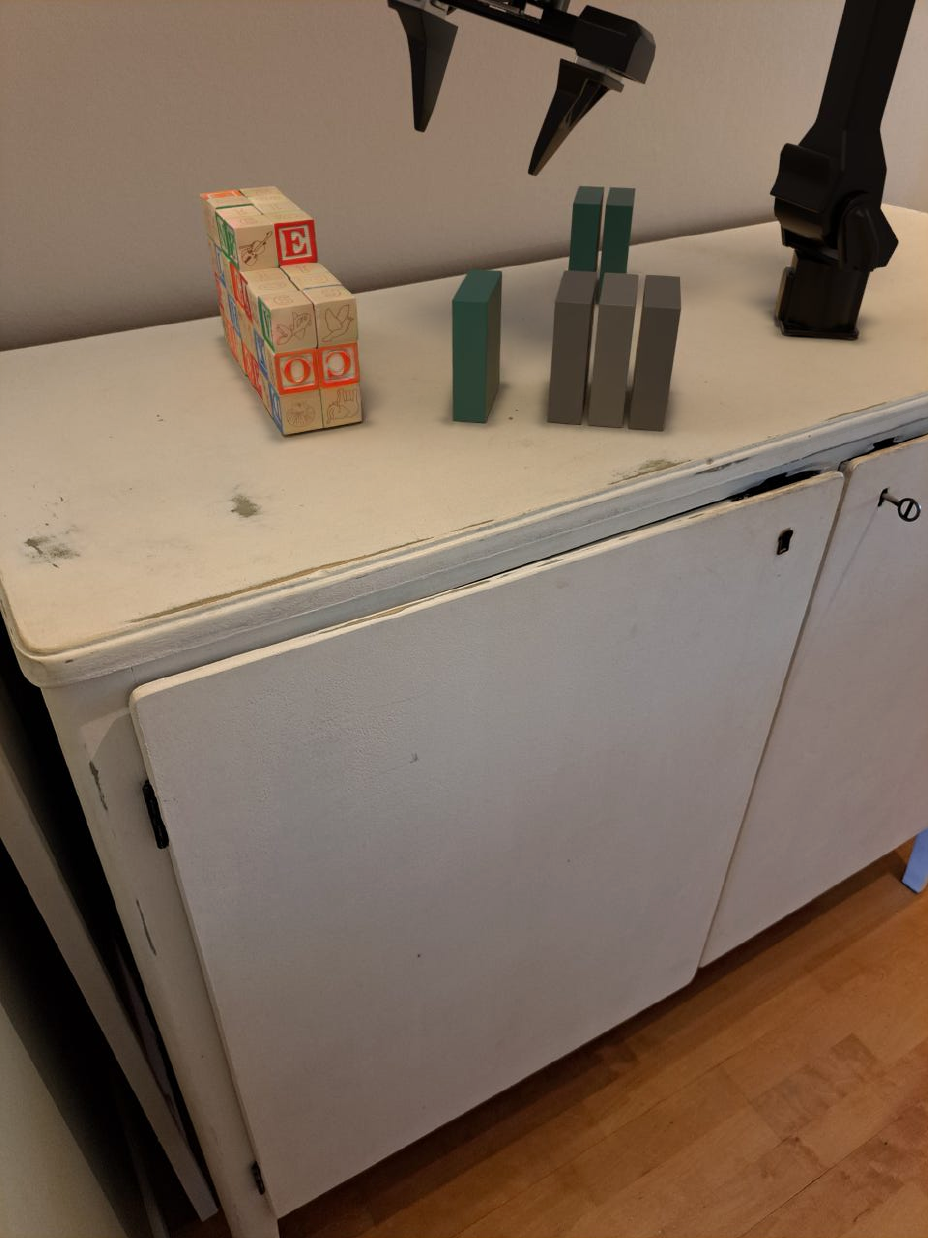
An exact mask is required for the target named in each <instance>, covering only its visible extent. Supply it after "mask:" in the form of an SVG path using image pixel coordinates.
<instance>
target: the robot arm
mask: <svg viewBox="0 0 928 1238" xmlns="http://www.w3.org/2000/svg"><path fill="white" fill-rule="evenodd" d="M571 2H572V1H571V0H386V4H387V7H388V8H389V9H391V10H394V11H396V13H397V15H398V17H399V20H400V22H401V24H402V27H403V31H404V32H405V36H406V42H407V48H408V53H409V54H408V55H409V62H410V77H411V78H410V79H411V98H412V116H413V118H412V119H413V129H414V130H415V131H416V132H419V133H425V132H426V131H427V129H428V126H429V123H430V121H431V119H432V117H433V113H434V111H435V108H436V105H437V101H438V97H439V94H440V92H441V91H440V90H441V87H442V84H443V81H444V79H445V78H444V77H445V73H446V70H447V68H448V64H449V61H450V57H451V54H452V50H453V47H454V44H455V40H456V38H457V34H458V31H459V25H456V24H454V23H452V22H450V21H448V20H446V16H447V17H448V16H449V15H451V14H452V13H453V12H455V11H457V10H460V11H463V12H466V13H469V14H470V15H471V14H472V15H475V16H477V17H480V18H483V19H486V20H489V21H491V22H495V23H497V24H500V25H503V26H506V27H509V28H512V29H514V30H517V31H521V32H523V33H526V34H529V35H532V36H533V37H537V38H541V39H543V40H546V41H549V42H551V43H555V44H558V45H561V46H563V47H567V48H569V49H572V50H575V54H574V55H575V58H574V61H570V60H567V59H565V58H562V57H560V58H559V63H558V71H557V80H556V85H555V86H556V87H555V90H554V94H553V96H552V99H551V101H550V104H549V106H548V109H547V112H546V115H545V117H544V119H543V123H542V125H541V128H540V131H539V133H538V136H537V138H536V141H535V144H534V146H533V149H532V153H531V157H530V161H529V163H528V169H527V175H529V176H533V177H537V176H538V175H539V174H540V172H542V170H543V169H544V167H545V166H546V165H547V163H549V161H550V159H552V158H553V156H554V155H555V153H556V152H557V151H558V150H559V148H560V147H561V145H562V144H563V143H564V141H565V140H566V139H567V138H568V136H569V135H570V134H571V132H572V131H573V130H574V129H575V127H577V125H578V124H579V123H580V122H581V121H582V119H584V117H585V116H586V115H588V113H589V112H590V111H591V110H592V109H593V108H594V107H595V106H596V105H597V104H598V103H599V101H601V99H602V98H604V97H605V95H607V93H608V92H610V91H615V92H617V93H623V91H624V87H625V84H624V83H622V82H623V78H624V79H627V80H629V81H633V82H634V83H635V82H636V83H638V84H641V85H646V82H647V80H648V77H649V74H650V72H651V68H652V66H653V63H654V59H655V56H656V50H657V45H656V40H655V38H654V35H653V33H651V31H650V30H648V29H646V27H644V26H643V25H642V24H641V23H639V22H638V21H636V20H635V19H631V18H628V17H625V16H622V15H620V14H616V13H614V12H610V11H607V10H605V9H602V8H598V7H595V6H593V5H590V4H586V5H585V6H584V8H583V9H582V11H581V12H580V14H579V15H577V14H576V15H575V14H572V13H569V12H568V10H569V7H570V3H571ZM916 2H917V0H845V1H844V5H843V9H842V14H841V18H840V21H839V26H838V29H837V34H836V38H835V41H834V45H833V49H832V54H831V58H830V62H829V67H828V70H827V75H826V78H825V81H824V82H825V83H824V87H823V90H822V95H821V99H820V103H819V108H818V111H817V114H816V118H815V121H814V122H813V125H811V127H810V128H809V129H808V131H807V132H806V133H805V135H804V136H803V138H802V139H801V140H800V141H799V142H798V144H795V143H790V142H786V143H784V145H783V146H782V149H781V151H780V154H779V161H778V162H779V164H778V170H777V175H776V178H775V181H774V183H773V186H772V187H771V189H770V191H769V195H770V196H772V197H774V203H773V215H774V217H775V218H776V219H777V221H778V223H779V224H780V234H781V244H782V246H784V247H786V248H790V249H793V253H792V254H793V255H792V258H791V263H790V266H784V268H783V269H782V275H781V279H780V284H779V289H778V293H777V299H776V303H775V306H774V307H775V308H774V312H775V316H776V317H775V318H776V319H777V321H778V322H779V325H780V327H781V331H782V333H783V334H784V335H790V336H807V337H822V338H836V339H837V338H840V339H858V338H859V335H860V330H859V329H858V327H857V323H858V319H859V315H860V312H861V308H862V304H863V300H864V296H865V293H866V290H867V286H868V281H869V278H870V275H871V273H872V272H875V271H874V270H876V269H878V268H879V269H880V268H885V267H887V266H888V264H889V263H890V261H891V259H892V257H893V255H894V253H895V252H896V250H897V248H898V246H899V243H900V242H899V238H898V237H897V235H896V233H895V231H894V229H893V228H892V226H891V225H890V223H889V220H888V219H887V217H886V215H885V213H884V212H883V210H882V203H883V198H884V197H883V196H884V192H885V186H886V185H885V184H886V180H887V173H888V167H887V160H886V156H885V155H886V154H885V150H884V144H883V139H882V133H881V128H882V121H883V118H884V114H885V111H886V107H887V104H888V100H889V98H890V94H891V89H892V87H893V82H894V80H895V76H896V72H897V69H898V66H899V62H900V58H901V54H902V51H903V48H904V43H905V40H906V36H907V33H908V30H909V26H910V23H911V19H912V16H913V12H914V9H915V5H916ZM527 5H529V6H532V7H535V8H537V9H540V10H541V11H542V12H541V15H540V18H538V17H536V16H533V15H530V14H527V13H525V11H526V8H527Z"/></svg>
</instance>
